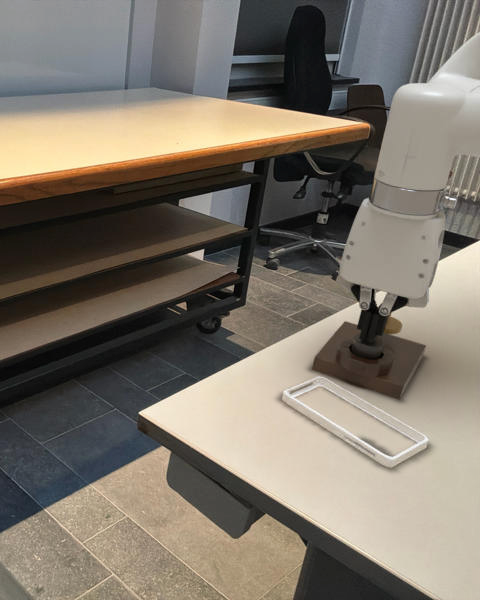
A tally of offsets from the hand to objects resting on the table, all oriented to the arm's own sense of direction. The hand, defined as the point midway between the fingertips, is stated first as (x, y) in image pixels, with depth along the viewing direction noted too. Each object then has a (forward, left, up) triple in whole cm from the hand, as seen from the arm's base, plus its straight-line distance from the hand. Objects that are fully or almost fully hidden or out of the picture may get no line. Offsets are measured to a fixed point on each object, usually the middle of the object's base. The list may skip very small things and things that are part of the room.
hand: (368, 336), depth 85 cm
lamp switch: (0, 0, -2) cm, 2 cm away
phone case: (-2, +11, -6) cm, 13 cm away
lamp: (0, -9, -2) cm, 9 cm away
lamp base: (0, -4, -6) cm, 7 cm away
